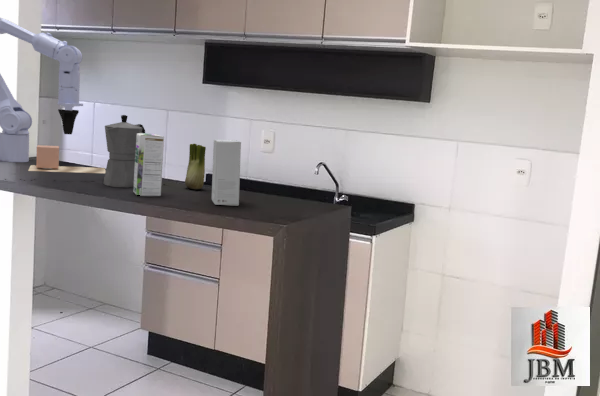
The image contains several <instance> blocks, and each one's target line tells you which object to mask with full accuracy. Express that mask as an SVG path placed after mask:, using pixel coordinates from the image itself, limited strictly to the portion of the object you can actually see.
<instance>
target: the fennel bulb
mask: <svg viewBox="0 0 600 396" xmlns="http://www.w3.org/2000/svg"><path fill="white" fill-rule="evenodd" d="M206 150H207V149H206V146H204V145H202V144H201V145H200V144H197V143H190V144H189V156H188V158H189V159H188V165H187V168H186V174H185V179H184V185H185V187H186V188H187V189H191V190H202V188H203V186H204V183H205V173H206V170H205V169H206V168H205V167H206V165H205V164H206V161H205V160H206Z"/></svg>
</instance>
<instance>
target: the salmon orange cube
mask: <svg viewBox="0 0 600 396" xmlns="http://www.w3.org/2000/svg"><path fill="white" fill-rule="evenodd" d="M59 160H60V145H45V144H43V145H42V144H37V146H36V168H59V166H60V164H59V163H60V161H59Z"/></svg>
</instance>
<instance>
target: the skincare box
mask: <svg viewBox="0 0 600 396" xmlns="http://www.w3.org/2000/svg"><path fill="white" fill-rule="evenodd" d="M241 151H242V141H238V140H235V139H232V140H230V139H213V150H212V152H213V153H212V178H211V180H212V181H211V201H212V203H213V204H214V205H216V206H217V205H218V206H219V205H221V206H231V207H233V206H235V207H237V206H239V205H240V201H239V200H240V182H241V181H240V179H241V177H240V175H241V154H242V152H241Z"/></svg>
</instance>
